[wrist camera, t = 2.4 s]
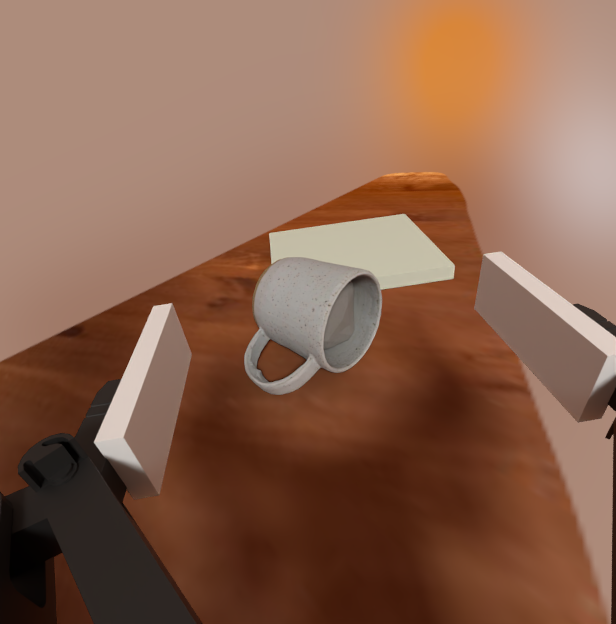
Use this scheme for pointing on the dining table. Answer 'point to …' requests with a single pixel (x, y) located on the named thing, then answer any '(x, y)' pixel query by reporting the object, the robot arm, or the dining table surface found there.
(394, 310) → the dining table surface
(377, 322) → the ceramic mug
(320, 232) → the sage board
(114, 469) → the robot arm
